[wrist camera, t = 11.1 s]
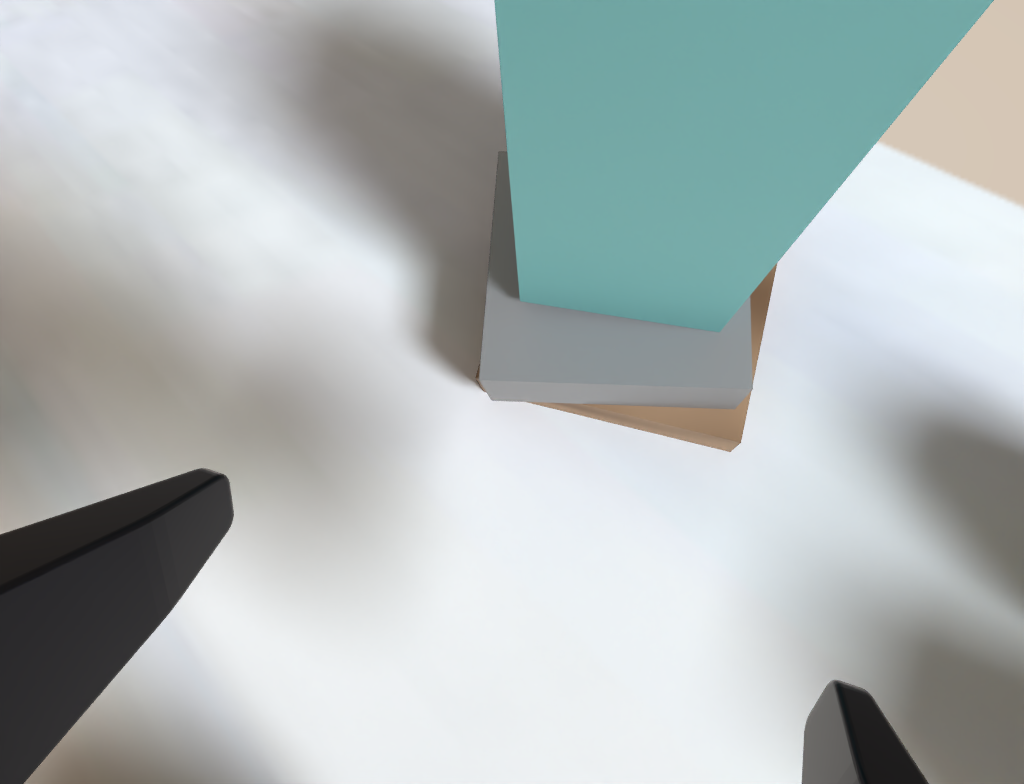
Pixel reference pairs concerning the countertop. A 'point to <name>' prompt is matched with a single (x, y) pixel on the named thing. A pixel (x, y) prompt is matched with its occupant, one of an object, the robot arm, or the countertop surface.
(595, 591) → the countertop surface
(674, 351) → the tower top
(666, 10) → the column
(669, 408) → the tower base
